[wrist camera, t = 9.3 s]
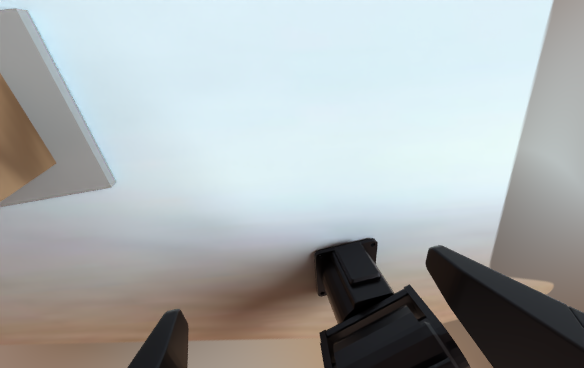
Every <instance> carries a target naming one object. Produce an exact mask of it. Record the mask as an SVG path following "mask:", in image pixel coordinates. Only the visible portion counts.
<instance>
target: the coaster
mask: <svg viewBox="0 0 584 368" xmlns="http://www.w3.org/2000/svg"><path fill="white" fill-rule="evenodd" d="M0 73H1V75H2V77H3V78H4V80H5V81H6V83H7V85H8V86H9V88H10V89H11V91H12V93H13V94H14V96H15V97H16V99H17V101H18V102H19V104H20V105H21V107H22V108H23V110H24V112H25V113H26V115H27V116H28V118H29V120H30V121H31V123H32V124H33V126H34V128H35V129H36V131H37V132H38V134H39V136H40V137H41V139H42V140H43V142H44V144H45V145H46V147H47V148H48V150H49V152H50V153H51V155H52V156H53V158H54V160H55V161H56V164H55V165H53V166H52V167H51V168H49V169H48V170H46V171H45V172H43V173H42V174H40V175H39V176H37V177H36V178H35V179H33V180H32V181H30V182H29V183H27V184H26V185H24V186H23V187H21V188H20V189H18V190H17V191H16V192H14V193H13V194H11V195H10V196H8V197H7V198H5V199H4V200H2V201H1V202H0V207H3V206H9V205H15V204H20V203H26V202H31V201H37V200H43V199H48V198H54V197H60V196H65V195H71V194H77V193H82V192H88V191H94V190H99V189H105V188H111V187H112V186H113V185H114V184H115V183H116V180H115V179H114V177H113V175H112V173H111V171H110V169H109V167H108V165H107V163H106V161H105V159H104V157H103V155H102V153H101V151H100V150H99V148H98V146H97V144H96V142H95V140H94V138H93V136H92V134H91V132H90V130H89V128H88V126H87V124H86V123H85V121H84V119H83V117H82V115H81V113H80V111H79V109H78V107H77V105H76V103H75V101H74V99H73V97H72V95H71V94H70V92H69V90H68V88H67V86H66V84H65V82H64V80H63V78H62V76H61V74H60V72H59V70H58V68H57V67H56V65H55V63H54V61H53V59H52V57H51V55H50V53H49V51H48V49H47V47H46V45H45V43H44V41H43V39H42V38H41V36H40V34H39V32H38V30H37V28H36V26H35V24H34V22H33V20H32V18H31V16H30V14H29V12H28V11H27V10H22V9H5V10H0Z"/></svg>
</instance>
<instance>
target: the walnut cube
mask: <svg viewBox="0 0 584 368" xmlns="http://www.w3.org/2000/svg"><path fill="white" fill-rule="evenodd" d="M55 164H56V161H55V160H54V158H53V156H52V155H51V153H50V152H49V150H48V148H47V147H46V145H45V144H44V142H43V140H42V139H41V137H40V136H39V134H38V132H37V131H36V129H35V128H34V126H33V124H32V123H31V121H30V120H29V118H28V116H27V115H26V113H25V112H24V110H23V108H22V107H21V105H20V104H19V102H18V101H17V99H16V97H15V96H14V94H13V93H12V91H11V89H10V88H9V86H8V85H7V83H6V81H5V80H4V78H3V77H2V75H1V73H0V202H1V201H2V200H4V199H5V198H7V197H8V196H10V195H11V194H13V193H14V192H16V191H17V190H18V189H20V188H21V187H23V186H24V185H26V184H27V183H29V182H30V181H32V180H33V179H35V178H36V177H37V176H39V175H40V174H42V173H43V172H45V171H46V170H48V169H49V168H51V167H52V166H53V165H55Z"/></svg>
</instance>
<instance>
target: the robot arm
mask: <svg viewBox="0 0 584 368" xmlns="http://www.w3.org/2000/svg"><path fill="white" fill-rule="evenodd" d="M376 254H377V241H376V240H375V239H373V238H372V239H367V240H363V241H358V242H354V243H350V244H345V245H341V246H336V247H332V248H328V249H323V250H319V251H317V252H315V254H314V258H315V272H316V285H317V293H318V295H319V296H325V295H327V296H328V299H329V302H330V304H331V307H332V310H333V312H334V315H335V318H336V320H337V323H338V324H337V325H336V326H334V327H332V328H330V329H328V330H324V331H322V332H320V339H321V343H320V345H321V350H322V357H323V362H324V368H470V365H469V364H468V362H467V360H466V358H465V357H464V355H463V354H462V352H461V350H460V349H459V347H458V346H457V344H456V343H455V341H454V340H453V339H452V337H451V336H450V335H449V333H448V332H447V330H446V329H445V328H444V326H443V325H442V324H441V322H440V321H439V320H438V319H437V317H436V316H435V315H434V314H433V312H432V311H431V310H430V309H429V308H428V306H427V305H426V304H425V303H424V301H423V300H422V299H421V298H420V297H419V295H418V294H417V293H416V292H415V290H414V289H413V288H412V287H411V286H410V284H409V285H407V286H406V287H404V289H403V290H401V291H399V292H397V293H394V292H393V290H392V289H391V287H390V286H389V284H388V283H387V281H386V280H385V278H384V277H383V275H382V273H381V272H380V270H379V269H378V267H377V266H376ZM320 255H321V256H320ZM426 267H427V270H428V271H429V273H430V275H431V276H432V278H433V280H434V281H435V283H436V285H437V287H438V288H439V290H440V292H441V293H442V295H443V297H444V298H445V300H446V302H447V303H448V305H449V306H450V308H451V309H452V311H453V312H454V314H455V315H456V317H457V318H458V319H459V320H460V322H461V323H462V325H463V326H464V327H465V329H466V330H467V332H468V333H469V334H470V336H471V337H472V339H473V340H474V341H475V343H476V344H477V346H478V347H479V348H480V350H481V351H482V352H483V354H484V355H485V356H486V358H487V359H488V361H489V362H490V363H491V365H492V366H493V368H584V313H583V312H581V311H579V310H577V309H574V308H572V307H570V306H569V307H568V306H567V305H566V304H564V303H562V302H560V301H557V300H555V299H553V298H551V297H549V296H547V295H545V294H543V293H541V292H539V291H537V290H534V289H532V288H530V287H528V286H526V285H524V284H522V283H520V282H518V281H515V280H513V279H511V278H509V277H507V276H505V275H503V274H501V273H499V272H497V271H494V270H492V269H490V268H488V267H486V266H484V265H482V264H480V263H478V262H476V261H473V260H471V259H469V258H467V257H465V256H463V255H461V254H459V253H457V252H455V251H452V250H450V249H448V248H446V247H444V246H441V245H438V246H434V247H430V248H429V250H428V254H427V258H426ZM187 360H188V323H187V321H186V319H185V317H184V315H183V313H182V312H181V310H180V309H174V310H170V311H167V312H166V313H165V314H164V315H163V316H162V318H161V319H160V321H159V322H158V324H157V325H156V327H155V328H154V330H153V331H152V333H151V334H150V335H149V337H148V338H147V340H146V341H145V343H144V344H143V346H142V347H141V349H140V350H139V351H138V353H137V354H136V356H135V357H134V359H133V360H132V362H131V363H130V365H129V366H128V368H187Z"/></svg>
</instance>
